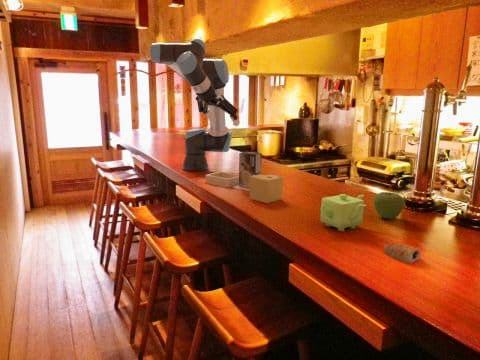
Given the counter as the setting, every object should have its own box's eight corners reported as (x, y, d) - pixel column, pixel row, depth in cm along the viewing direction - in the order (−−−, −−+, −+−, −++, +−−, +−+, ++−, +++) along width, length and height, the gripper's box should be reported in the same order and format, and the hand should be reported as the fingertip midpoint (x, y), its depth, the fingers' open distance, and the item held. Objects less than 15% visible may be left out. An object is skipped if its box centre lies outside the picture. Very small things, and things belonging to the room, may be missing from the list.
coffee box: (261, 186, 181) (262, 152, 178) (255, 189, 176) (256, 154, 172) (244, 183, 186) (245, 151, 182) (237, 186, 180) (238, 152, 177)
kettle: (361, 221, 136) (364, 191, 133) (366, 235, 122) (370, 201, 120) (318, 218, 138) (320, 188, 136) (319, 231, 125) (321, 198, 122)
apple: (365, 215, 142) (368, 190, 140) (385, 212, 147) (387, 187, 145) (389, 224, 133) (392, 196, 131) (409, 220, 138) (412, 193, 136)
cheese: (264, 195, 169) (265, 172, 167) (283, 200, 162) (284, 176, 159) (248, 198, 162) (248, 175, 160) (267, 204, 154) (268, 180, 152)
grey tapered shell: (378, 253, 108) (379, 241, 108) (391, 248, 112) (392, 236, 112) (409, 265, 101) (411, 252, 100) (422, 259, 105) (424, 246, 104)
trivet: (246, 184, 189) (246, 182, 188) (265, 187, 182) (265, 186, 182) (233, 187, 180) (233, 186, 180) (252, 191, 174) (252, 190, 173)
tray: (220, 179, 198) (220, 171, 197) (243, 183, 190) (243, 175, 189) (205, 182, 189) (205, 174, 188) (228, 187, 181) (228, 179, 180)
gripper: (176, 93, 160) (200, 127, 176) (222, 95, 146) (244, 131, 161) (185, 81, 163) (208, 115, 179) (231, 81, 149) (252, 118, 164)
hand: (225, 123), depth 170 cm, fingers open, 13 cm apart
